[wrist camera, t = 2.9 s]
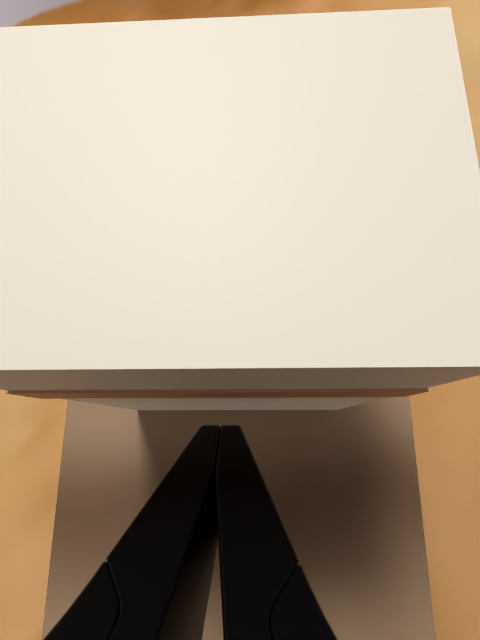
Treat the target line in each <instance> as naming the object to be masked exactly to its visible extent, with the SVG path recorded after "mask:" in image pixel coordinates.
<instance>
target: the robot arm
mask: <svg viewBox="0 0 480 640" xmlns="http://www.w3.org/2000/svg"><path fill="white" fill-rule="evenodd" d="M217 544H218V546H219V564H220V583H221V601H222V620H223V638H224V640H338V639H337V637H336V636H335V634H334V632H333V630H332V628H331V626H330V624H329V623H328V621H327V619H326V617H325V615H324V613H323V611H322V609H321V607H320V605H319V602H318V600H317V598H316V596H315V594H314V592H313V590H312V588H311V586H310V583H309V581H308V579H307V576H306V574H305V572H304V570H303V567H302V565H300V564H299V563H300V561H299V559H298V556H297V554H296V552H295V550H294V547H293V545H292V543H291V540H290V538H289V536H288V534H287V531H286V529H285V527H284V524H283V522H282V520H281V517H280V515H279V513H278V511H277V508H276V506H275V504H274V501H273V499H272V497H271V495H270V492H269V490H268V488H267V485H266V483H265V481H264V479H263V476H262V474H261V472H260V469H259V467H258V465H257V463H256V460H255V458H254V456H253V453H252V451H251V449H250V447H249V444H248V442H247V440H246V437H245V435H244V433H243V431H242V428H241V427H240V425H222V426H221V427H220V426H219V425H202V426H201V427H200V428H199V429H198V431H197V432H196V433H195V435H194V436H193V438H192V439H191V440H190V442H189V443H188V445H187V446H186V447H185V449H184V450H183V452H182V453H181V454H180V456H179V457H178V458H177V460H176V461H175V463H174V464H173V465H172V467H171V468H170V470H169V471H168V472H167V474H166V475H165V477H164V478H163V479H162V481H161V482H160V484H159V485H158V486H157V488H156V489H155V491H154V492H153V493H152V495H151V496H150V497H149V499H148V500H147V502H146V503H145V504H144V506H143V507H142V509H141V510H140V511H139V513H138V514H137V516H136V517H135V518H134V520H133V521H132V523H131V524H130V525H129V527H128V528H127V530H126V531H125V532H124V534H123V535H122V536H121V538H120V539H119V541H118V542H117V543H116V545H115V546H114V548H113V549H112V550H111V552H110V553H109V555H108V556H107V557H106V561H107V562H103V563H102V564H101V565H100V567H99V568H98V570H97V571H96V572H95V574H94V575H93V577H92V578H91V579H90V581H89V582H88V584H87V585H86V586H85V587H84V589H83V590H82V591H81V593H80V594H79V595H78V597H77V598H76V599H75V601H74V602H73V603H72V605H71V606H70V607H69V609H68V610H67V611H66V612H65V614H64V615H63V616H62V617H61V618H60V620H59V621H58V622H57V623H56V624H55V626H54V627H53V628H52V629H51V630H50V632H49V633H48V634H47V635H46V636H45V638H44V639H43V640H202V636H203V629H204V623H205V617H206V611H207V605H208V599H209V593H210V587H211V580H212V574H213V568H214V562H215V556H216V550H217Z"/></svg>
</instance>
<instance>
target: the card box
mask: <svg viewBox="0 0 480 640" xmlns="http://www.w3.org/2000/svg"><path fill="white" fill-rule="evenodd" d="M477 375H480V171H479V165H478V160H477V154H476V148H475V143H474V137H473V132H472V126H471V120H470V115H469V109H468V104H467V98H466V92H465V87H464V81H463V76H462V70H461V64H460V59H459V53H458V48H457V42H456V36H455V31H454V25H453V20H452V14H451V9H450V7H443V8H420V9H398V10H376V11H354V12H332V13H309V14H287V15H265V16H243V17H220V18H198V19H176V20H154V21H132V22H109V23H87V24H65V25H43V26H20V27H0V389H2V390H5V393H6V394H13V395H20V396H27V397H34V398H41V399H50V398H60V399H67V400H73V401H80V402H86V403H93V404H99V405H106V406H112V407H118V408H125V409H131V410H339V409H343V408H347V407H351V406H355V405H359V404H363V403H367V402H372V401H376V400H380V399H384V398H388V397H406V396H410V395H415V394H419V393H424V392H428V387H432V386H436V385H441V384H445V383H449V382H453V381H457V380H461V379H465V378H469V377H473V376H477Z"/></svg>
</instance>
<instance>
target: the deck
mask: <svg viewBox="0 0 480 640" xmlns="http://www.w3.org/2000/svg"><path fill="white" fill-rule="evenodd" d="M202 425H219V426H220V427H221V426H222V425H240V427H241V428H242V431H243V433H244V435H245V437H246V440H247V442H248V444H249V447H250V449H251V451H252V453H253V456H254V458H255V460H256V463H257V465H258V467H259V469H260V472H261V474H262V476H263V479H264V481H265V483H266V485H267V488H268V490H269V492H270V495H271V497H272V499H273V501H274V504H275V506H276V508H277V511H278V513H279V515H280V517H281V520H282V522H283V524H284V527H285V529H286V531H287V534H288V536H289V538H290V540H291V543H292V545H293V547H294V550H295V552H296V554H297V556H298V559H299V561H300V563H299V564H300V565H302V567H303V570H304V572H305V574H306V576H307V579H308V581H309V583H310V586H311V588H312V590H313V592H314V594H315V596H316V598H317V600H318V602H319V605H320V607H321V609H322V611H323V613H324V615H325V617H326V619H327V621H328V623H329V624H330V626H331V628H332V630H333V632H334V634H335V636H336V637H337V639H338V640H435V632H434V623H433V614H432V604H431V595H430V586H429V577H428V567H427V558H426V549H425V540H424V530H423V521H422V512H421V503H420V493H419V484H418V475H417V466H416V457H415V447H414V438H413V429H412V420H411V410H410V401H409V396H406V397H388V398H384V399H380V400H376V401H372V402H367V403H363V404H359V405H355V406H351V407H347V408H343V409H339V410H131V409H125V408H118V407H112V406H106V405H99V404H93V403H86V402H80V401H73V400H68V403H67V412H66V422H65V431H64V440H63V449H62V458H61V468H60V477H59V486H58V495H57V504H56V514H55V523H54V532H53V541H52V550H51V560H50V569H49V578H48V587H47V596H46V606H45V615H44V624H43V633H42V640H43V639H44V638H45V636H46V635H47V634H48V633H49V632H50V630H51V629H52V628H53V627H54V626H55V624H56V623H57V622H58V621H59V620H60V618H61V617H62V616H63V615H64V614H65V612H66V611H67V610H68V609H69V607H70V606H71V605H72V603H73V602H74V601H75V599H76V598H77V597H78V595H79V594H80V593H81V591H82V590H83V589H84V587H85V586H86V585H87V584H88V582H89V581H90V579H91V578H92V577H93V575H94V574H95V572H96V571H97V570H98V568H99V567H100V565H101V564H102V563H103V562H107V561H106V557H107V556H108V555H109V553H110V552H111V550H112V549H113V548H114V546H115V545H116V543H117V542H118V541H119V539H120V538H121V536H122V535H123V534H124V532H125V531H126V530H127V528H128V527H129V525H130V524H131V523H132V521H133V520H134V518H135V517H136V516H137V514H138V513H139V511H140V510H141V509H142V507H143V506H144V504H145V503H146V502H147V500H148V499H149V497H150V496H151V495H152V493H153V492H154V491H155V489H156V488H157V486H158V485H159V484H160V482H161V481H162V479H163V478H164V477H165V475H166V474H167V472H168V471H169V470H170V468H171V467H172V465H173V464H174V463H175V461H176V460H177V458H178V457H179V456H180V454H181V453H182V452H183V450H184V449H185V447H186V446H187V445H188V443H189V442H190V440H191V439H192V438H193V436H194V435H195V433H196V432H197V431H198V429H199V428H200V427H201V426H202ZM202 640H224V638H223V620H222V601H221V583H220V564H219V546H218V544H217V550H216V556H215V562H214V568H213V574H212V580H211V587H210V593H209V599H208V605H207V611H206V617H205V623H204V629H203V636H202Z"/></svg>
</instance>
